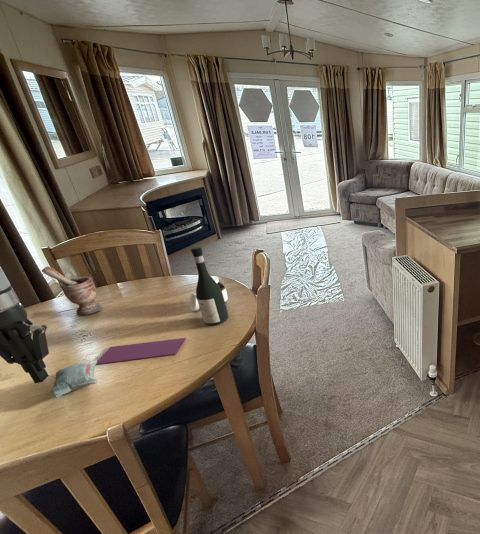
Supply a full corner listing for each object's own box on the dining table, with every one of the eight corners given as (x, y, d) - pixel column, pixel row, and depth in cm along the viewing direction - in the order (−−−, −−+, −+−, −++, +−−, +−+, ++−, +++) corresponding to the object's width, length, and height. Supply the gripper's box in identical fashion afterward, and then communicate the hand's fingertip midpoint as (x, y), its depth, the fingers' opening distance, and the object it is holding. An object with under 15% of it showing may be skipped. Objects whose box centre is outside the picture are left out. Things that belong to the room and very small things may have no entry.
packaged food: (100, 366, 105) (93, 353, 103) (99, 387, 97) (92, 374, 95) (60, 379, 100) (52, 366, 98) (56, 403, 92) (47, 389, 90)
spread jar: (232, 302, 142) (226, 277, 137) (209, 316, 132) (202, 290, 127) (209, 297, 145) (202, 273, 140) (185, 311, 135) (176, 285, 130)
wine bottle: (217, 328, 125) (195, 253, 112) (199, 324, 127) (175, 250, 114) (233, 316, 132) (214, 245, 120) (216, 313, 134) (196, 242, 121)
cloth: (93, 365, 105) (93, 364, 105) (110, 347, 113) (110, 346, 113) (175, 354, 111) (175, 353, 111) (186, 338, 119) (185, 337, 119)
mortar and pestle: (62, 322, 126) (37, 274, 117) (64, 312, 131) (40, 265, 123) (104, 311, 133) (83, 265, 124) (104, 303, 138) (84, 258, 130)
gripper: (41, 297, 90) (79, 366, 100) (-22, 303, 87) (23, 374, 97) (18, 312, 84) (61, 384, 94) (-51, 319, 80) (0, 393, 90)
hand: (42, 379), depth 95 cm, fingers closed
